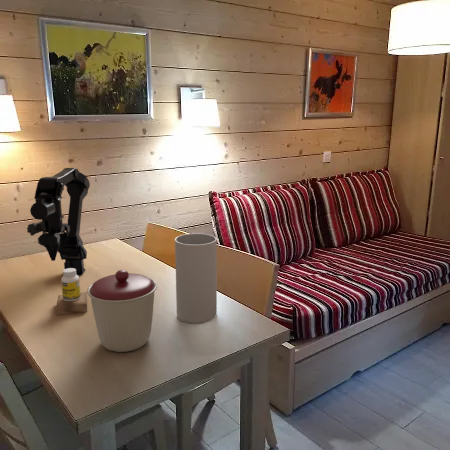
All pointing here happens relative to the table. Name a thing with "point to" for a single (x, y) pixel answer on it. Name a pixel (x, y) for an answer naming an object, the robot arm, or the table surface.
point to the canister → (123, 310)
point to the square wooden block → (71, 305)
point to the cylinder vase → (196, 277)
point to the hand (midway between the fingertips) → (56, 256)
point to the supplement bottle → (70, 285)
